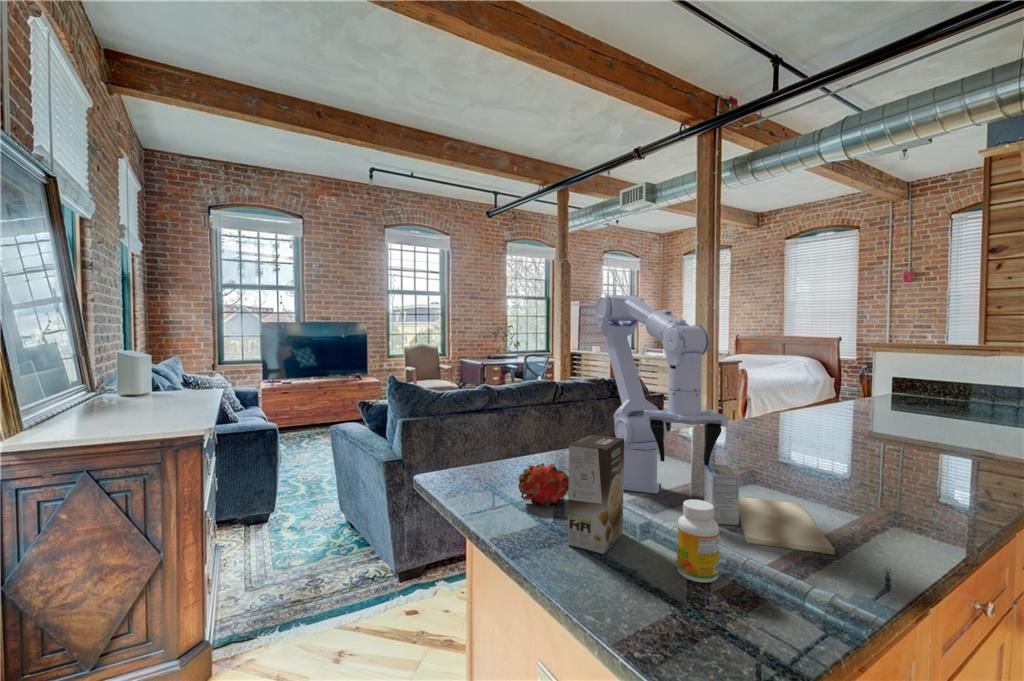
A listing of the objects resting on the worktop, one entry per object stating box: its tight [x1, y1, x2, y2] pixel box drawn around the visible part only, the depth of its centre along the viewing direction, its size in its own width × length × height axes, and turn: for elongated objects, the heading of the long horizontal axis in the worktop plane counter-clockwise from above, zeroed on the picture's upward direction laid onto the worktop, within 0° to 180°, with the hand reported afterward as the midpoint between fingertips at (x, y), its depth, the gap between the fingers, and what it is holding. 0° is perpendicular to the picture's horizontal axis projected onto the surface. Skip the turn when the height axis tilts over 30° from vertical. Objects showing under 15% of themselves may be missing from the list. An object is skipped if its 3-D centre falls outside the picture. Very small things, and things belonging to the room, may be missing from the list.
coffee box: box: [567, 434, 624, 555], centre depth 75 cm, size 9×6×16 cm
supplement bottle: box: [676, 499, 720, 584], centre depth 64 cm, size 5×5×10 cm
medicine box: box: [703, 463, 740, 527], centre depth 84 cm, size 8×4×9 cm, turn 168°
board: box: [739, 496, 836, 555], centre depth 82 cm, size 12×20×1 cm, turn 161°
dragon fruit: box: [517, 462, 569, 507], centre depth 91 cm, size 8×8×12 cm
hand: (684, 461), depth 86 cm, fingers open, 7 cm apart
